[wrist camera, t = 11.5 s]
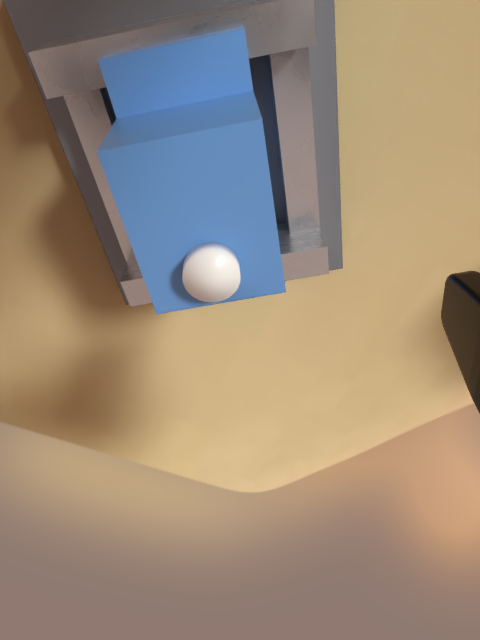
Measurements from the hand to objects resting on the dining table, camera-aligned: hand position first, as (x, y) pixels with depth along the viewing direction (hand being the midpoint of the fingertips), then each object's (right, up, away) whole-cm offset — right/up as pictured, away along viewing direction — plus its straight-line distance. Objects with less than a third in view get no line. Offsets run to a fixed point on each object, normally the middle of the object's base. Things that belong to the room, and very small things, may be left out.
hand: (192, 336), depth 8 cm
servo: (0, +6, +9) cm, 11 cm away
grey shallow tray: (-1, +7, +10) cm, 12 cm away
